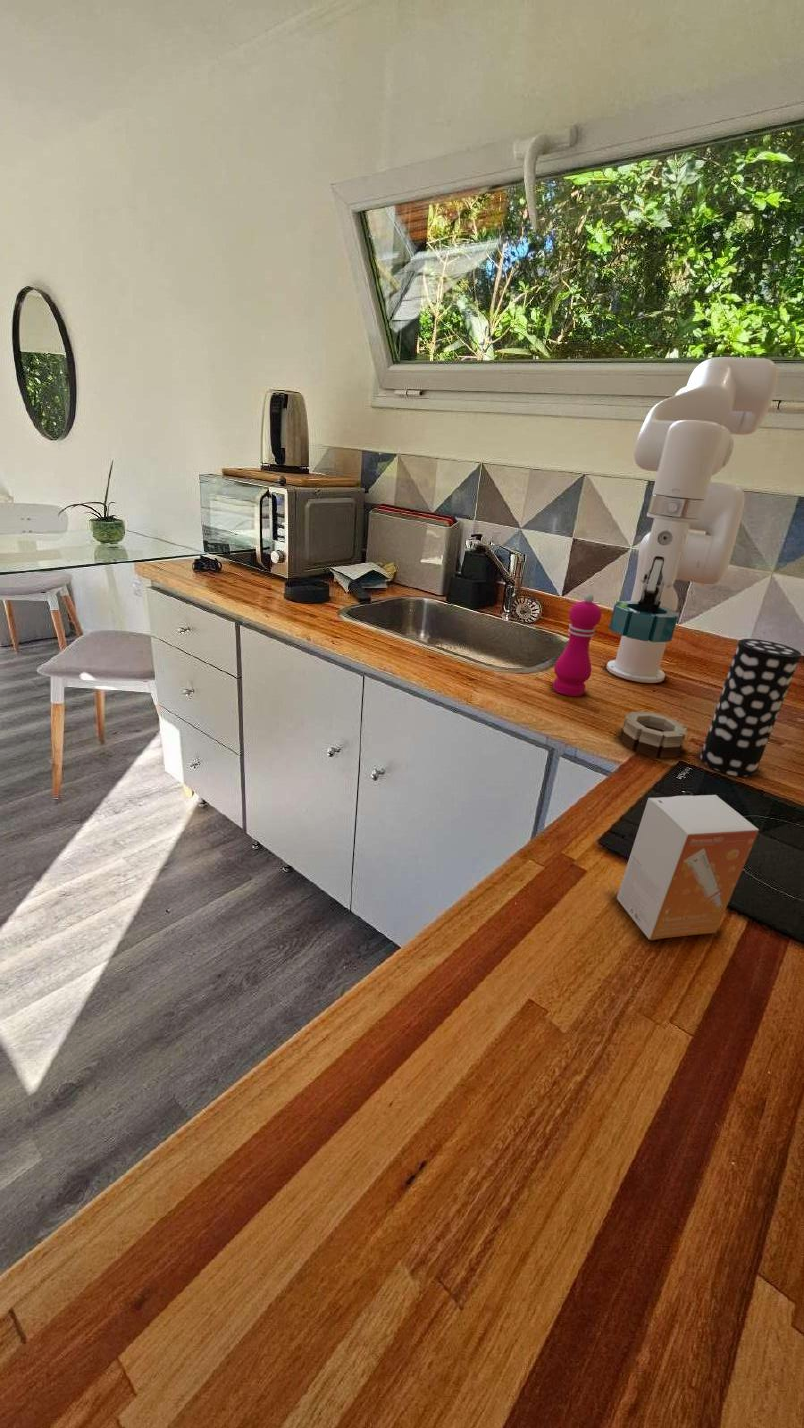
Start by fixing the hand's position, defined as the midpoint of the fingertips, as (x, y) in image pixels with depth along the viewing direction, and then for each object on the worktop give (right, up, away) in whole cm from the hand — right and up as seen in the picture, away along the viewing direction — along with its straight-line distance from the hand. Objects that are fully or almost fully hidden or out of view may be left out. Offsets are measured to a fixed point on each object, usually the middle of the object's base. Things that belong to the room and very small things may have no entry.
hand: (643, 624), depth 99 cm
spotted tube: (+13, -23, -2) cm, 27 cm away
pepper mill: (-6, -10, +22) cm, 26 cm away
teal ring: (-2, -2, -3) cm, 4 cm away
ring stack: (+2, -20, +2) cm, 20 cm away
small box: (-13, -37, -37) cm, 53 cm away
